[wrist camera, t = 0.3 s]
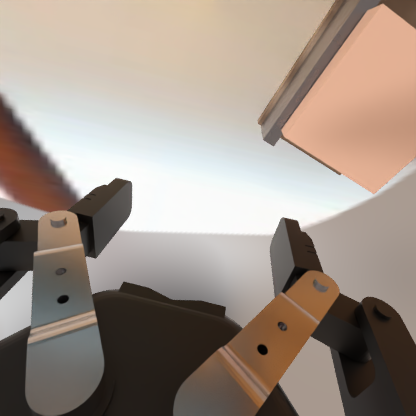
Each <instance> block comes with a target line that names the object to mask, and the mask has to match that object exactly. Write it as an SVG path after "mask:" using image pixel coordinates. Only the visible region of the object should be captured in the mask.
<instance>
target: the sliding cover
mask: <svg viewBox="0 0 416 416" xmlns="http://www.w3.org/2000/svg"><path fill="white" fill-rule="evenodd" d="M281 131H282V133H283V136H284V137H285V138H286V139H288V140H290V141H291V142H293V143H294V144H296V145H297V146H299V147H301V148H302V149H304V150H305V151H307V152H309V153H310V154H312V155H313V156H315V157H316V158H318V159H320V160H321V161H323V162H324V163H326V164H327V165H329V166H331V167H332V168H334V169H335V170H337V171H338V172H340V173H342V174H343V175H345V176H346V177H348V178H349V179H351V180H353V181H354V182H356V183H357V184H359V185H360V186H362V187H364V188H365V189H367V190H368V191H370V192H371V193H373V194H375V193H376V192H377V191H378V190H379V189H380V188H381V187H383V186H384V185H385V184H386V183H387V182H388V181H389V180H390V179H391V178H393V177H394V176H395V175H396V174H397V173H398V172H399V171H400V170H402V169H403V168H404V167H405V166H406V165H407V164H408V163H409V162H411V161H412V160H413V159H414V158H415V157H416V29H415V28H414V27H412V26H411V25H410V24H408V23H407V22H406V21H405V20H403V19H402V18H401V17H400V16H398V15H397V14H396V13H394V12H393V11H392V10H391V9H389V8H388V7H387V6H385V5H384V4H381V5H379V6H377V7H374V8H372V9H370V10H367V12H366V13H365V14H364V16H363V17H362V19H361V20H360V21H359V23H358V24H357V26H356V27H355V28H354V30H353V31H352V32H351V34H350V35H349V37H348V38H347V39H346V41H345V42H344V44H343V45H342V46H341V48H340V49H339V50H338V52H337V53H336V55H335V56H334V57H333V59H332V60H331V62H330V63H329V64H328V66H327V67H326V68H325V70H324V71H323V73H322V74H321V75H320V77H319V78H318V80H317V81H316V82H315V84H314V85H313V86H312V88H311V89H310V91H309V92H308V93H307V95H306V96H305V98H304V99H303V100H302V102H301V103H300V104H299V106H298V107H297V109H296V110H295V111H294V113H293V114H292V116H291V117H290V118H289V120H288V121H287V123H286V124H285V125H284V127H283V128H282V129H281Z"/></svg>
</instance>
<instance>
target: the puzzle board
mask: <svg viewBox="0 0 416 416" xmlns="http://www.w3.org/2000/svg"><path fill="white" fill-rule="evenodd" d="M381 4H384V5H385V6H387V7H388V8H389V9H391V10H392V11H393V12H394V13H396V14H397V15H398V16H400V17H401V18H402V19H403V20H405V21H406V22H407V23H408V24H410V25H411V26H412V27H414V28H415V29H416V0H336V1H335V2H334V4H333V6H332V7H331V9H330V10H329V12H328V13H327V15H326V16H325V18H324V19H323V21H322V22H321V24H320V25H319V27H318V29H317V30H316V32H315V33H314V35H313V36H312V38H311V39H310V41H309V42H308V44H307V45H306V47H305V49H304V50H303V52H302V53H301V55H300V56H299V58H298V59H297V61H296V62H295V64H294V65H293V67H292V69H291V70H290V72H289V73H288V75H287V76H286V78H285V79H284V81H283V82H282V84H281V85H280V87H279V89H278V90H277V92H276V93H275V95H274V96H273V98H272V99H271V101H270V102H269V104H268V105H267V107H266V108H265V110H264V112H263V113H262V115H261V116H260V118H259V119H258V124H260V125H261V129H262V136H263V140H264V141H266V142H267V143H269V144H271V145H272V146H274V145H275V144H276V142H277V141H278V140H279V138H282V139H283V140H285V141H287V142H288V143H290V144H291V145H293V146H294V147H296V148H298V149H299V150H301V151H302V152H304V153H306V154H307V155H309V156H310V157H312V158H313V159H315V160H317V161H318V162H320V163H321V164H323V165H325V166H326V167H328V168H329V169H331V170H332V171H334V172H336V173H337V174H339V175H341V174H342V173H340V172H338V171H337V170H335V169H334V168H332V167H331V166H329V165H327V164H326V163H324V162H323V161H321V160H320V159H318V158H316V157H315V156H313V155H312V154H310V153H309V152H307V151H305V150H304V149H302V148H301V147H299V146H297V145H296V144H294V143H293V142H291V141H290V140H288V139H286V138H285V137H284V136H283V133H282V131H281V129H282V128H283V127H284V125H285V124H286V123H287V121H288V120H289V118H290V117H291V116H292V114H293V113H294V111H295V110H296V109H297V107H298V106H299V104H300V103H301V102H302V100H303V99H304V98H305V96H306V95H307V93H308V92H309V91H310V89H311V88H312V86H313V85H314V84H315V82H316V81H317V80H318V78H319V77H320V75H321V74H322V73H323V71H324V70H325V68H326V67H327V66H328V64H329V63H330V62H331V60H332V59H333V57H334V56H335V55H336V53H337V52H338V50H339V49H340V48H341V46H342V45H343V44H344V42H345V41H346V39H347V38H348V37H349V35H350V34H351V32H352V31H353V30H354V28H355V27H356V26H357V24H358V23H359V21H360V20H361V19H362V17H363V16H364V14H365V13H366V12H367V10H370V9H372V8H374V7H377V6H379V5H381Z"/></svg>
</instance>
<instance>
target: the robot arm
mask: <svg viewBox="0 0 416 416" xmlns="http://www.w3.org/2000/svg"><path fill="white" fill-rule="evenodd" d="M131 208H132V183H131V181H127V180H123V179H119V178H116V179H114V180H113V181H112V182H111V183H110V184H108V185H102V186H100V187H97V188H95V189H94V190H92V191H91V192H90V193H89V194H87V195H86V196H85V197H84V198H82V199H81V200H80V201H79V202H77V203H76V204H75V205H74V206H72V207H71V208H70V209H69V210H67V211H54V212H50V213H48V214H45V215H44V216H42V217H41V218H40V220H19V218H18V214H17V212H16V211H14V210H12V209H8V208H0V299H2V297H3V296H4V295H5V294H6V293H7V292H8V291H9V290H10V289H11V288H12V287H13V286H14V285H15V284H16V283H17V282H18V281H19V280H20V279H21V278H22V277H23V276H24V275H25V274H26V273H27V272H28V271H33V287H32V314H31V326H29V327H26V328H24V329H23V330H20V331H18V332H17V333H14V334H13V335H11V336H9V337H7V338H5V339H3V340H1V341H0V416H299V415H298V413H297V412H296V410H295V409H294V407H293V405H292V404H291V402H290V401H289V399H288V397H287V396H286V394H285V393H284V391H283V389H282V388H281V386H280V385H279V383H278V382H279V380H280V379H281V377H282V376H283V374H284V373H285V372H286V370H287V369H288V367H289V366H290V364H291V363H292V361H293V360H294V359H295V357H296V356H297V354H298V353H299V352H300V350H301V349H302V347H303V346H304V344H305V343H306V342H307V340H308V339H309V337H310V336H311V337H313V338H315V339H317V340H318V341H320V342H322V343H324V344H325V345H327V346H329V347H330V349H331V354H332V359H333V363H334V368H335V372H336V377H337V381H338V385H339V390H340V394H341V399H342V403H343V407H344V412H345V416H416V344H415V343H414V341H413V339H412V337H411V335H410V333H409V331H408V330H407V328H406V326H405V324H404V322H403V320H402V319H401V317H400V315H399V314H398V313H397V312H396V311H395V310H394V309H393V308H392V307H391V306H390V305H388V304H387V303H385V302H384V301H382V300H379V299H377V298H374V297H366V298H364V299H363V300H362V301H361V302H360V303H359V302H357V301H355V300H353V299H351V298H349V297H347V296H344V295H343V294H341V293H340V292H339V287H338V285H337V284H336V283H335V282H334V280H333V279H332V278H330V277H329V276H327V275H326V274H324V273H323V270H322V267H321V264H320V262H319V259H318V256H317V254H316V250H315V248H314V244H313V242H312V239H311V238H310V237H309V236H308V235H307V234H306V232H302V231H301V230H300V227H299V223H298V221H296V220H292V219H288V218H284V217H283V218H281V220H280V222H279V225H278V227H277V229H276V232H275V234H274V237H273V239H272V242H271V246H270V257H271V265H272V275H273V284H274V293H275V298H274V299H273V300H272V301H271V302H270V303H269V304H268V305H267V306H266V307H265V308H264V309H263V310H262V311H261V312H260V313H259V314H258V315H257V316H256V317H255V318H254V319H253V320H252V321H251V322H249V323H248V325H246V326H245V327H244V328H242V327H241V326H240V325H238V324H237V323H236V322H235V321H233V320H232V319H230V318H229V317H227V316H225V310H226V307H224V306H220V305H216V304H212V303H208V302H204V301H193V300H172V299H169V298H167V297H166V296H163V295H162V294H160V293H158V292H156V291H154V290H152V289H150V288H147V287H143V286H139V285H135V284H131V283H127V282H123V284H122V285H121V287H120V289H115V290H106V291H102V292H98V293H95V294H92V292H91V288H90V281H89V276H88V270H87V265H86V259H85V257H86V256H88V257H92V258H97V257H98V255H99V254H100V253H101V252H102V250H103V249H104V248H105V246H106V245H107V244H108V243H109V241H110V240H111V239H112V237H113V236H114V235H115V234H116V232H117V231H118V230H119V229H120V227H121V226H122V225H123V224H124V222H125V221H126V220H127V219H128V217H129V215H130V213H131Z"/></svg>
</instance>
